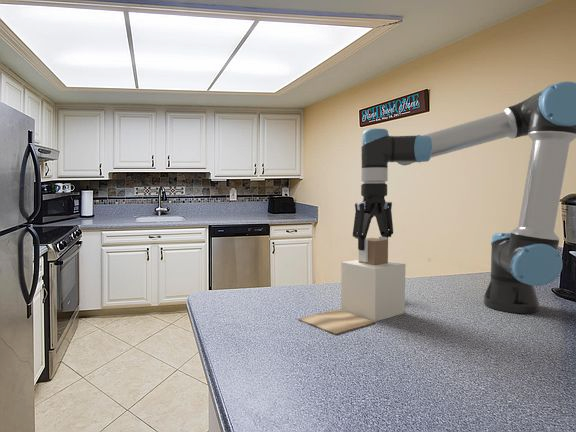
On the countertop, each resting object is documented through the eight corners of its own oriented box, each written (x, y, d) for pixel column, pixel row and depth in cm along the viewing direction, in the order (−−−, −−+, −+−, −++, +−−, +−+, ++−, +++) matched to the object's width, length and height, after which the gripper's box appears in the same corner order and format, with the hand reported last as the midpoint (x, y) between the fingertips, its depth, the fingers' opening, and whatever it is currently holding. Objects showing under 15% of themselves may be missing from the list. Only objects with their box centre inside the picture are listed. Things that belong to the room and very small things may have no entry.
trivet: (375, 323, 113) (375, 321, 113) (335, 335, 104) (335, 333, 104) (336, 310, 125) (336, 309, 125) (298, 320, 116) (298, 318, 116)
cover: (404, 313, 122) (405, 239, 121) (374, 321, 114) (375, 243, 113) (370, 303, 133) (371, 235, 131) (341, 310, 125) (341, 238, 123)
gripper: (387, 183, 130) (385, 254, 132) (339, 182, 118) (339, 261, 119) (406, 183, 124) (405, 257, 126) (359, 182, 112) (358, 265, 113)
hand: (373, 259), depth 122 cm, fingers open, 8 cm apart
